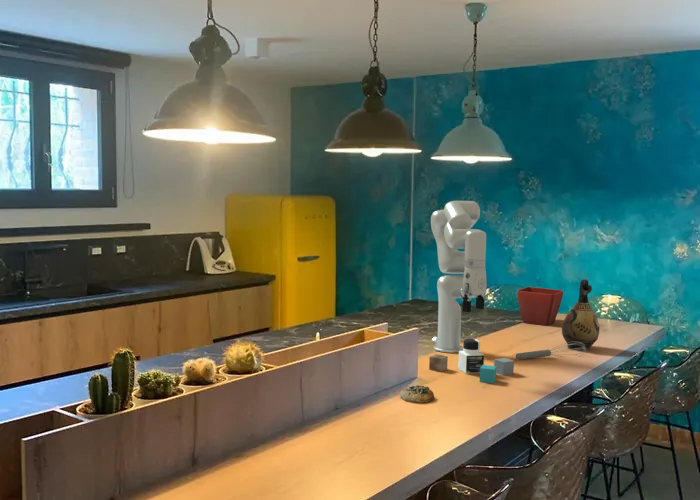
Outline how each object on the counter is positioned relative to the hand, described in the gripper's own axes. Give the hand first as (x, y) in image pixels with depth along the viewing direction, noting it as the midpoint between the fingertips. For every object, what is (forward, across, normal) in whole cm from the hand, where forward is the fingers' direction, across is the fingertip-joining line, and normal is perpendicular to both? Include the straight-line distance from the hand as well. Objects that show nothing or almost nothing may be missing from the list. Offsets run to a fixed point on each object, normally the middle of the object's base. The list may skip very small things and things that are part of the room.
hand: (473, 310), depth 253 cm
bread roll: (+24, -41, -4) cm, 48 cm away
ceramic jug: (+23, +68, -14) cm, 73 cm away
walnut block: (+23, -6, +11) cm, 26 cm away
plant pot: (+22, +109, +23) cm, 114 cm away
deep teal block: (+23, -6, -10) cm, 26 cm away
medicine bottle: (+23, 0, 0) cm, 23 cm away
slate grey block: (+23, +7, -10) cm, 26 cm away
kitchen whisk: (+23, +42, -13) cm, 50 cm away
